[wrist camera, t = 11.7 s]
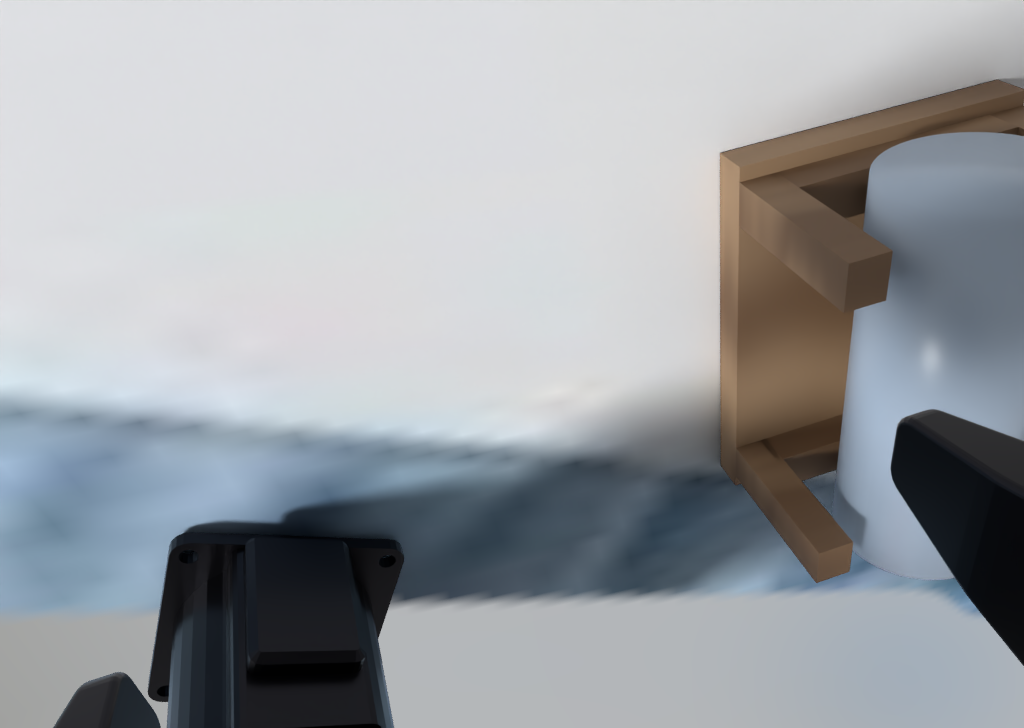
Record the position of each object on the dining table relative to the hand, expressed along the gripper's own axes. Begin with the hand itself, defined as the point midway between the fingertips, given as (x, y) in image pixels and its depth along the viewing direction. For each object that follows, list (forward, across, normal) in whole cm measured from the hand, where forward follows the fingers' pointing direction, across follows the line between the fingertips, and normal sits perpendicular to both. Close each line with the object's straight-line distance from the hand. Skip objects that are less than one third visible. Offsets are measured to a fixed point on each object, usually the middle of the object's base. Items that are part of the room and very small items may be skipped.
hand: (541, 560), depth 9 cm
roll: (+10, -12, +7) cm, 17 cm away
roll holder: (+12, -12, +7) cm, 19 cm away
